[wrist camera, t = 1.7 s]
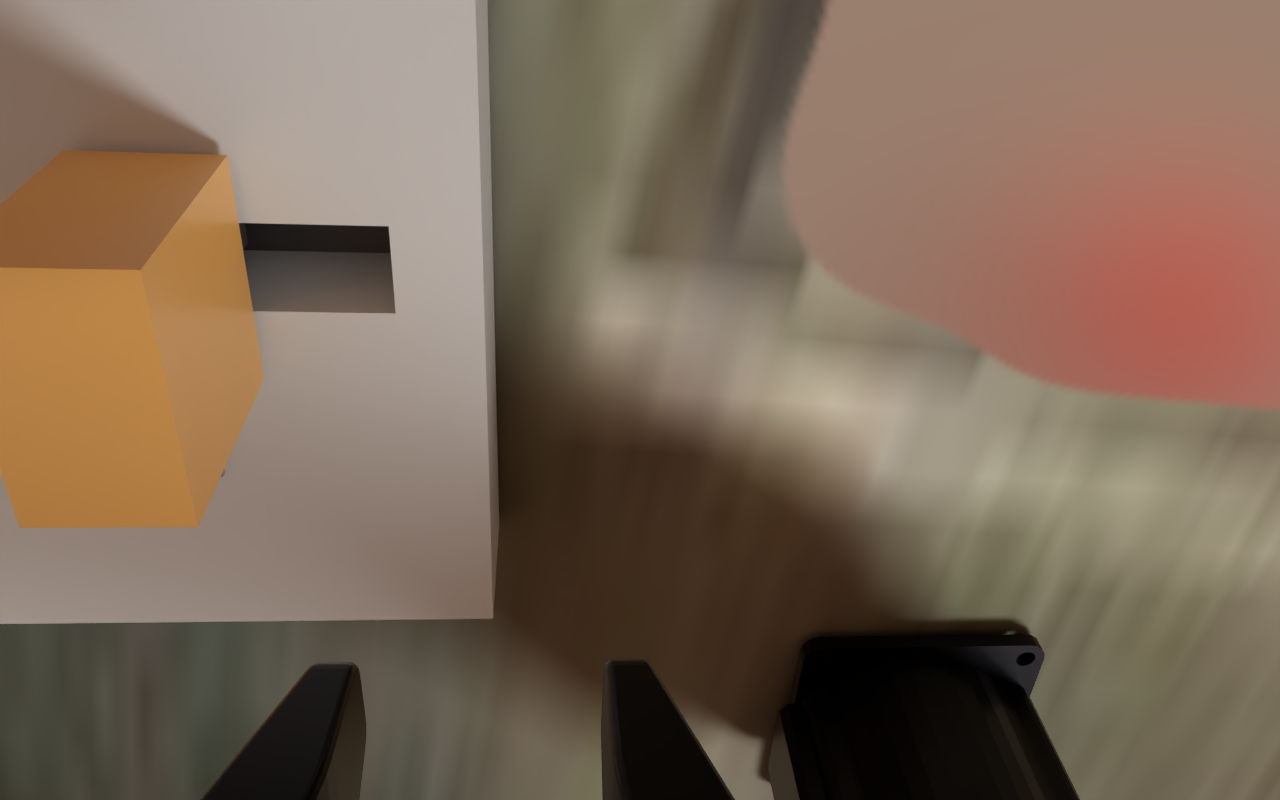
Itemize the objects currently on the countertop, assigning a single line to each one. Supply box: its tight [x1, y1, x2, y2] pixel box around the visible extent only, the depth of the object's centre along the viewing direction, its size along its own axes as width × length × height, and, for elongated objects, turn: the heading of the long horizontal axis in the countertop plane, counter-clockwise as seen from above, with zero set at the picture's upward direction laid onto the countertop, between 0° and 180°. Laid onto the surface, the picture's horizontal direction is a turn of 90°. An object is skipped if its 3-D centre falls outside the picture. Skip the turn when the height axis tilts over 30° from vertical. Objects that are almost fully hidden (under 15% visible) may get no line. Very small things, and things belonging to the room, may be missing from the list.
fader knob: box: [0, 150, 264, 528], centre depth 16 cm, size 2×4×6 cm, turn 177°
